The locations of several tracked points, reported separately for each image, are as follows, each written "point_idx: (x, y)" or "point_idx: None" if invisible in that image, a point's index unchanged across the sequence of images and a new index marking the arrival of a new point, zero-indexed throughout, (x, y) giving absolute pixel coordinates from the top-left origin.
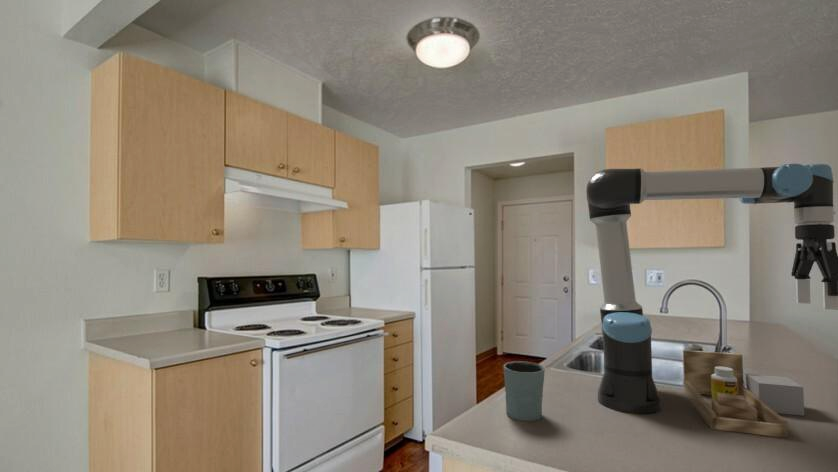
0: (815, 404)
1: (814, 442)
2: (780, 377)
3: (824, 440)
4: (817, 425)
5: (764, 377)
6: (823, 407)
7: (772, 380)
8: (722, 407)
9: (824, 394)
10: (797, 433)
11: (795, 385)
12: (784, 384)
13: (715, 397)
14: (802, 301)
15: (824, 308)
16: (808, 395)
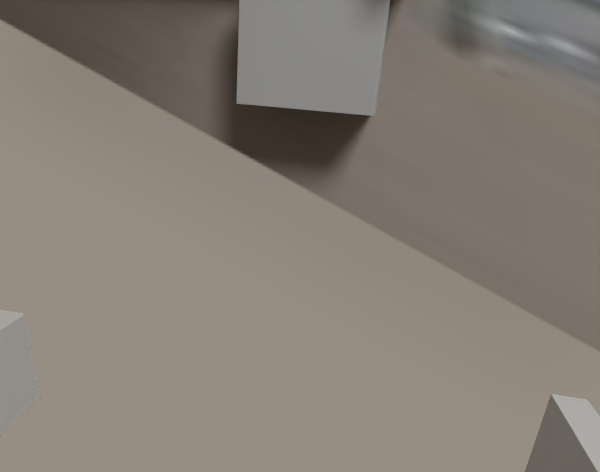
0: (386, 195)
1: (56, 17)
2: (361, 85)
3: (81, 52)
4: (189, 95)
5: (345, 13)
6: (360, 202)
7: (301, 26)
8: None
9: (504, 283)
10: (104, 4)
11: (249, 85)
12: (251, 47)
13: None
14: (547, 445)
15: (4, 314)
16: (484, 228)
